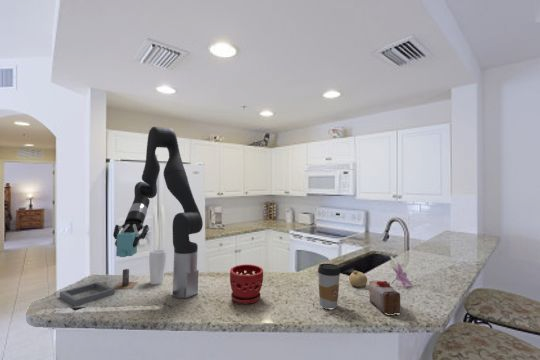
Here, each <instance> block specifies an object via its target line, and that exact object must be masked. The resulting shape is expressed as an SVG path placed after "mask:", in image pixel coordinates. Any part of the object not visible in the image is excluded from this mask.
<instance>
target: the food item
mask: <svg viewBox="0 0 540 360" xmlns="http://www.w3.org/2000/svg"><path fill="white" fill-rule="evenodd" d="M391 283H392V282H391V281H390V282H388V281H387V280H378V279H375V280H374V279H373V280H370V281H369V284H368V292H369V293H368V294H369V297H368V298H369V301H370V302H371V303H372V304H373V305H374V306H376V308H378V309H379V310H380V311H381V313H383V314H384V313H387V314H394V313H400V314H401V293H400V292H398V291H397V290H396V289H394V288H393V286H391Z"/></svg>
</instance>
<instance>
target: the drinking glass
mask: <svg viewBox="0 0 540 360" xmlns="http://www.w3.org/2000/svg"><path fill="white" fill-rule="evenodd" d="M148 257H149V258H148V261H149V263H148V264H149V283H150V285H159V284H163V282H164V278H165V277H164V276H165V269H166V259H167V251H166V250H165V249H153V250H150V251H149V256H148Z"/></svg>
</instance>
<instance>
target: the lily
mask: <svg viewBox="0 0 540 360" xmlns="http://www.w3.org/2000/svg"><path fill="white" fill-rule="evenodd" d="M391 268H392V269H393V271H394V272H395V274H396V275H395V278H394V280H393V281H392V282H391V285H393V283H394V282H395V281H398V282H401V284H402V286H403V289H404V290H405V289H406V290H407V285H408V286H410V288H411V287H412V288H414V285H413V283H412V282H411V281H410V280H409V278H407V277H408V273H407V272H406V271H404V269H403V267H402V266H401V264H400V262H397V268H396V267H395V266H391Z"/></svg>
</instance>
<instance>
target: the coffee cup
mask: <svg viewBox="0 0 540 360" xmlns="http://www.w3.org/2000/svg"><path fill="white" fill-rule="evenodd" d="M317 273H318V295H319V296H318V297H319V305H320V307H321V306H322V307H325V308H336V309H337V307H338V301H339V300H338V298H339V288H340V274H341V269H340V267H339V265H337V264H334V263H321V264H319V266H318V268H317ZM322 307H321V308H322Z"/></svg>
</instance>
